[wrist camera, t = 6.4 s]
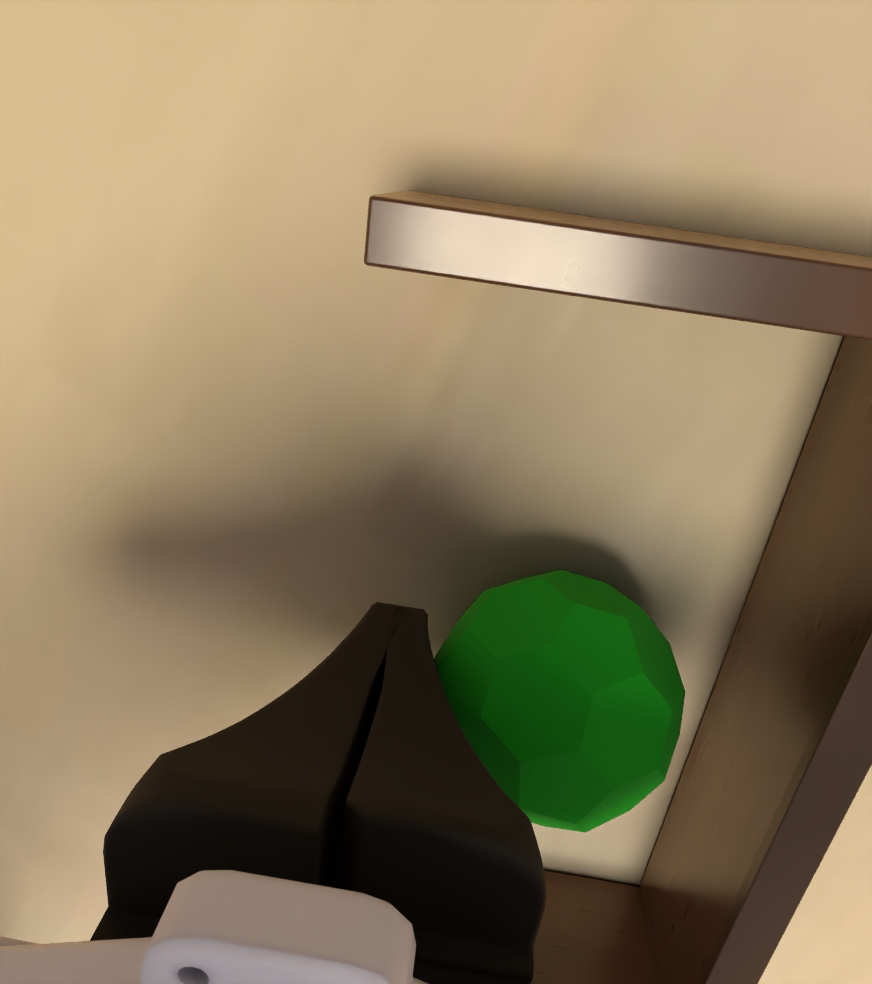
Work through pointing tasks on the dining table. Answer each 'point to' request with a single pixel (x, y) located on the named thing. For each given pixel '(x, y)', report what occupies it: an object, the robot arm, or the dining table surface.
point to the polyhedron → (564, 696)
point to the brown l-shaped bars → (766, 615)
